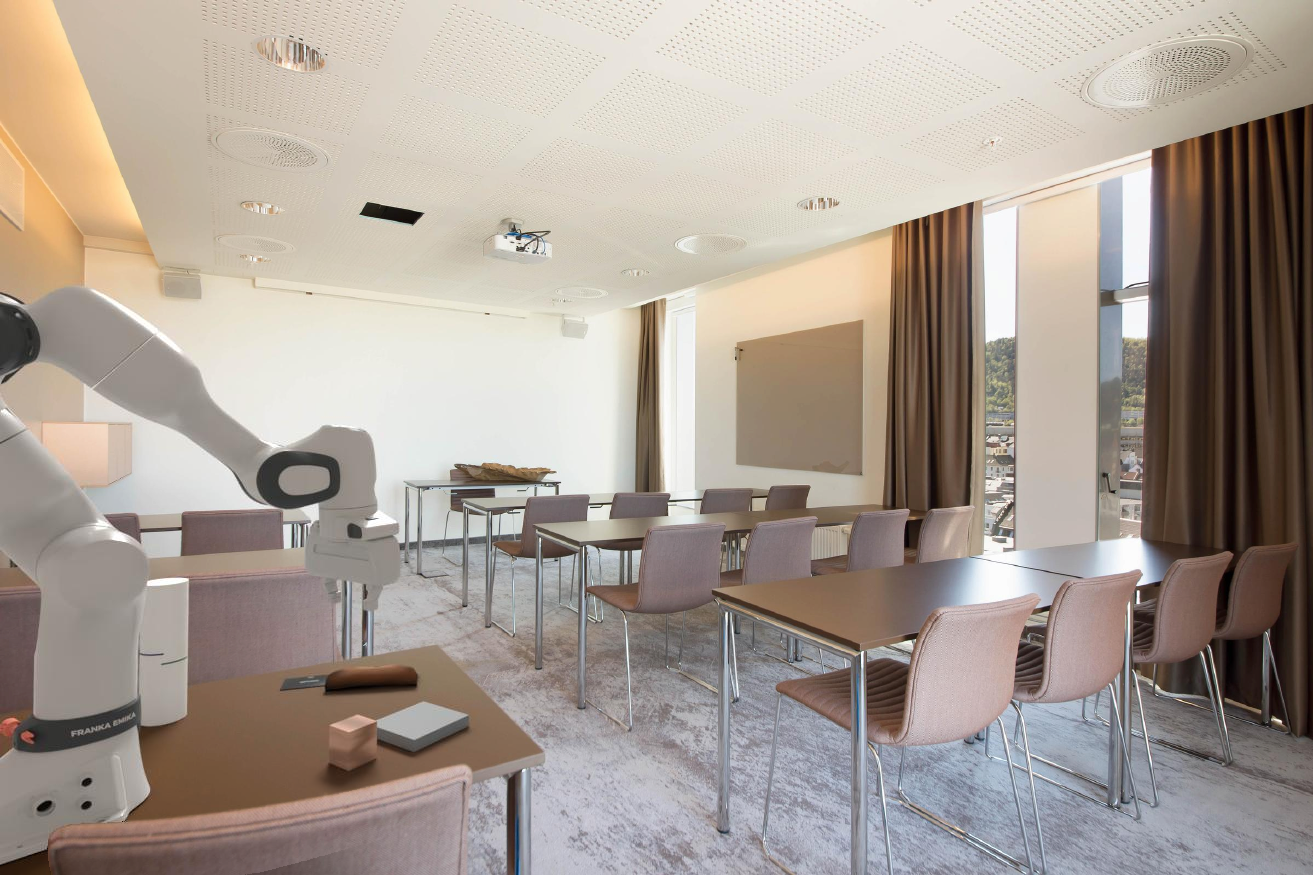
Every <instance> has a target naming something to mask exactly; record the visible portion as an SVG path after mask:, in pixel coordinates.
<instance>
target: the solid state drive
mask: <svg viewBox="0 0 1313 875" xmlns="http://www.w3.org/2000/svg"><path fill="white" fill-rule="evenodd" d="M329 674H330V673H329ZM329 674H319V675H310V676H300V677H299V676H298V677H291V678H285V679H284V680H283V682H282V684H281V687H280V689H279V691H281V692H282V691H283V692H284V691H293V690H300V689H309V688H311V689H312V688H319V687H325V681H326V678H327V677H328V675H329Z"/></svg>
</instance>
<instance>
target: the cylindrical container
mask: <svg viewBox="0 0 1313 875" xmlns="http://www.w3.org/2000/svg"><path fill="white" fill-rule="evenodd" d="M189 580H190V579H189V578H186V577H168V578H166V577H165V578H158V579H157V578H156V579H152V580H148V582H147V590H146V598H145V605H144V612H143V617H142V622H141V627H140V633H139V668H138V672H139V673H138V676H139V680H138V681H139V682H138V693H139V694H140V695H141V706H142V720H141V727H143V726H144V727H158V726H163V725H167V724H171V723H175V722H178V721H180V720H182V719H184V718H185V717H187V714H188V666H189V664H188V661H189V660H188V658H189V657H188V656H189V654H188V652H189V651H188V650H189V597H190V596H189V595H190V594H189V593H190V592H189V591H190V590H189V589H190V582H189Z"/></svg>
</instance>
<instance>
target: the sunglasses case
mask: <svg viewBox="0 0 1313 875" xmlns="http://www.w3.org/2000/svg"><path fill="white" fill-rule="evenodd" d="M419 674H420V672H419V673H418V672H417V671H416V669H415V668H414V667H412V666H408V665H404V664H387V665H382V666H380V665H374V666H352V667H346V668H342V669H338V670H335V671H333V672H331V673H329V675H328V674H327V675H328V677H327V678H326V681H325V686H324V691H325V692H328V691H331V690H332V691H333V690H339V689H347V688H354V687H355V688H356V687H358V686H359V687H360V686H361V687H363V686H364V687H366V686H367V687H368V686H381V685H382V686H383V685H384V686H385V685H386V686H387V685H388V686H389V685H407V684H408V685H409V684H410V685H415V686H418V682H419V680H418V678H419V679H420V676H419Z"/></svg>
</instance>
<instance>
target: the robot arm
mask: <svg viewBox="0 0 1313 875" xmlns="http://www.w3.org/2000/svg"><path fill="white" fill-rule="evenodd" d="M35 362H37V363H38V362H40V363H44V364H45V363H46V364H49V365H53V366H56V367H58V368H60V369H62V370H63V371H65V372H67V373H69V374H71V375H72V376H73V377H74V378H76V379H77V380H79V381H80V382H81V383H83V384H85V385H86V386H87V387H89V388H90V389H92V390H93V391H95V392H96V393H97V394H99V395H101V397H103V398H104V399H106V400H108V401H109V402H111V403H113V404H114V405H117V406H119V407H120V408H123V409H124V410H125V411H128V412H130V413H132V414H135V415H136V416H138V417H141V418H143V419H145V420H147V421H151V422H153V423H155V424H159V425H162V426H163V427H167V428H169V429H172V430H173V431H175V432H178V433H179V434H181V435H183V436H185V437H186V438H188V440H189V439H190V441H192V442H193V443H194V444H196V445H197V446H199V447H200V448H201V449H203V450H204V451H205V452H207V453H208V454H210V455H211V456H212V457H213V458H215V459H217V460H218V461H219V462H221V463H222V464H223V465H224V466H226V467H227V468H228V470H230V471H231V473H232V474H233V476H234V477H235V479H236V481H237V482H238V485H239V487H240V488H241V490H242V491H243V493H244V494H245V495H246V496H247V497H248V498H249V499H250V500H252V501H253V502H256V503H258V504H260V505H264V506H269V507H272V508H275V509H279V510H284V511H293V510H294V511H295V510H299V509H301V508H302V509H303V508H304V507H308V506H312V505H316V504H318V519H316V520H314V522H313V523H312V524H311V526H309V531H308V532H309V533H308V534H307V537H306V540H305V548H304V549H305V550H304V569H305V571H306V574H308V575H310V576H315V577H320V583H321V586H322V588H323V589H324V592H325V593H326V595H325V596H326V603H328V604H332V605H334V604H335V605H336V604H338V603H341V602H342V590H341V591H340V590H339V588H338V585H337V582H336V581H338V580H339V581H345V582H351V583H356V584H362V585H365V590H366V591H367V595H366V599H362V606H363V607H362V609H363V611H367V612H375V611H377V610H378V609H379V599H380V596H381V594H382V591H383V590H384V587H386V586H390V585H393V584H395V583H397V581H398V580H399V579H400V577H401V573H402V572H401V569H402V568H401V565H402V564H401V550H400V548H401V547H400V543H399V542H400V541H399V540H398V538H397V537H396V536H395V535H399V532H400V524H399V522H398V521H397V520H395V519H393V518H392V517H390V516H388V515H387V514H385V513H384V512H383V511H381V510H379V509H378V499H377V496H376V492H375V487H376V486H375V485H376V482H377V481H376V480H377V463H376V462H377V461H376V453H375V452H376V451H375V446H374V442H373V439H372V437H371V435H370V433H369V432H367V430H365V429H363V428H360V427H356V426H350V425H344V424H343V425H339V424H324V425H321V427H319V429H317V430H315V432H313V433H311V434H310V435H308V436H306V437H304V438H301V439H299V440H297V441H295V442H293V443H289V444H287V445H285V446H284V445H281V444H276V443H272V442H268V441H266V440H263V439H262V438H260V437H258V436H257V435H255V434H254V433H253V432H252V431H250V430H249V429H248V428H247V427H246V426H244V425H243V424H241V423H240V422H239V421H237V419H235V418H234V417H233V416H231V415H230V414H228V413H227V411H225V410H224V409H222V408H221V407H220V406H219V405H218V404H217V403H216V401H215V400H214V399H213V398H212V397H211V395H210V394H209V392H208V390H207V388H206V386H205V383H204V380H203V377H202V374H201V371H200V369H199V368H198V366H197V365H196V364H195V363H194V362H193V361H192V359H190V357H189V356H188V355H187V354H186V353H185V352H184V350H182V349H181V348H180V347H179V346H178V345H177V344H176V343H175V342H173V340H171V339H170V337H168V336H166V335H165V334H164V333H163V332H161V331H159V329H158V328H156V326H155V327H154V325H152V324H151V323H150V322H148V321H146V320H145V319H143V318H142V317H141V316H139V315H138V314H137V313H135V312H133V311H132V310H130V309H128V308H127V307H125V306H124V305H122V304H120V303H118V302H117V301H115V300H114V299H112V298H110V297H108V296H107V295H105V294H103V293H101V292H99V291H97V290H95V289H93V288H92V287H88V286H84V285H67V286H63V287H60V288H59V287H58V288H56V289H54V290H52V291H51V290H50V291H49V292H48V293H45V294H44V295H43V296H42V297H40V298H39V299H37V300H35V301H34V302H32V303H28V304H26V303H25V302H24V301H22V300H20V299H19V298H17V297H15V296H12V295H11V294H7V293H4V292H1V291H0V386H1V385H3V384H5V383H7V382H8V381H9V380H10V379H11V378H13V376H15V375H16V374H17V373H18V372H20V370H21V369H23V368H24V367H25V366H27V365H29V364H32V363H35ZM0 550H1V551H2V553H3V554H5V555H6V556H7V557H8V558H9V559H10V560H11V561H12V562H13V563H14V565H16V566H17V567H18V568H20V570H21V571H22V572H23V573H24V574H25V575H26V576H27V577H28V578H29V579H31V580H32V581H33V582H34V583H35V584H36V586H38V587H39V588H40V597H41V599H40V614H39V624H38V631H37V633H38V634H37V640H36V647H35V652H34V656H33V660H34V661H33V709H32V710H33V711H32V713H30V715H29V716H28V717H26V718H25V719H24V720H23V721H22V722H21V721H20V720H18V719H17V718H14V717H10V718H6V719H5V720H3V721H1V724H0V733H1V735H4V736H5V737H7V738H12V745H13V746H12V748H11V749H9V751H8V750H7V752H6V753H4V754H3V755H2V756H1V757H0V865H3V864H6V863H9V862H12V861H15V860H18V859H21V858H24V857H27V856H29V855H33V854H35V853H38V852H39V853H40V852H43V851H46V850H48V849H47V846H48V839H49V836H50V834H51V833H52V832H53V831H54V830H56V829H57V828H60V827H62V826H66V825H69V824H81V823H107V822H122V821H123V822H125V821H126V819H127V818H128V817H129V813H130V812H131V811H133V809H135V808H137V806H139V805H141V804H142V802H144V801H145V800H146V798H148V796H149V795H150V793H151V787H150V784H149V782H148V779H147V775H146V773H145V768H144V765H143V759H142V753H141V746H140V739H139V738H140V737H139V733H140V732H141V728H142V725H141V720H142V706H141V695H140V694H139V692H138V681H139V680H138V676H139V673H138V672H139V668H138V665H139V664H138V663H139V660H138V659H139V642H140V627H141V622H142V617H143V612H144V605H145V598H146V590H147V582H148V581H149V578H150V573H151V568H150V567H151V564H150V560H149V556H148V554H147V551H146V549H145V547H144V546H143V545H142V544H141V543H140V542H139V541H138V540H137V539H136V538H135V537H132V536H130V535H129V534H127V533H124V532H122V531H119V530H118V529H117V528H116V527H114V525H113V524H111V522H109V520H108V519H107V518H106V517H105V516H104V514H103V513H102V512H101V511H100V510H99V508H98V507H97V506H96V505H95V504H94V503H93V502H92V500H91V499H90V498H89V496H88V495H87V494H86V493H85V491H84V490H83V489H82V487H81V486H80V485H79V484H78V482H77V481H76V480H75V478H74V477H73V476H72V474H71V473H70V472H69V471H68V470H67V468H65V467H64V466H63V464H61V463H60V461H59V460H58V459H57V458H56V457H55V456H54V455H53V453H52V452H50V451H49V450H48V448H47V447H46V446H45V445H44V444H43V443H42V442H41V440H40V439H39V438H38V437H37V436H36V435H35V434H34V433H33V431H31V430H30V429H29V428H28V427H27V426H26V425H25V424H24V423H23V421H21V419H19V417H18V416H17V415H16V414H15V413H14V412H13V411H12V409H11V408H10V407H9V406H8V404H7V403H6V402H5V400H4V398H3V396H2V394H1V392H0ZM123 822H122V823H123Z"/></svg>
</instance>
